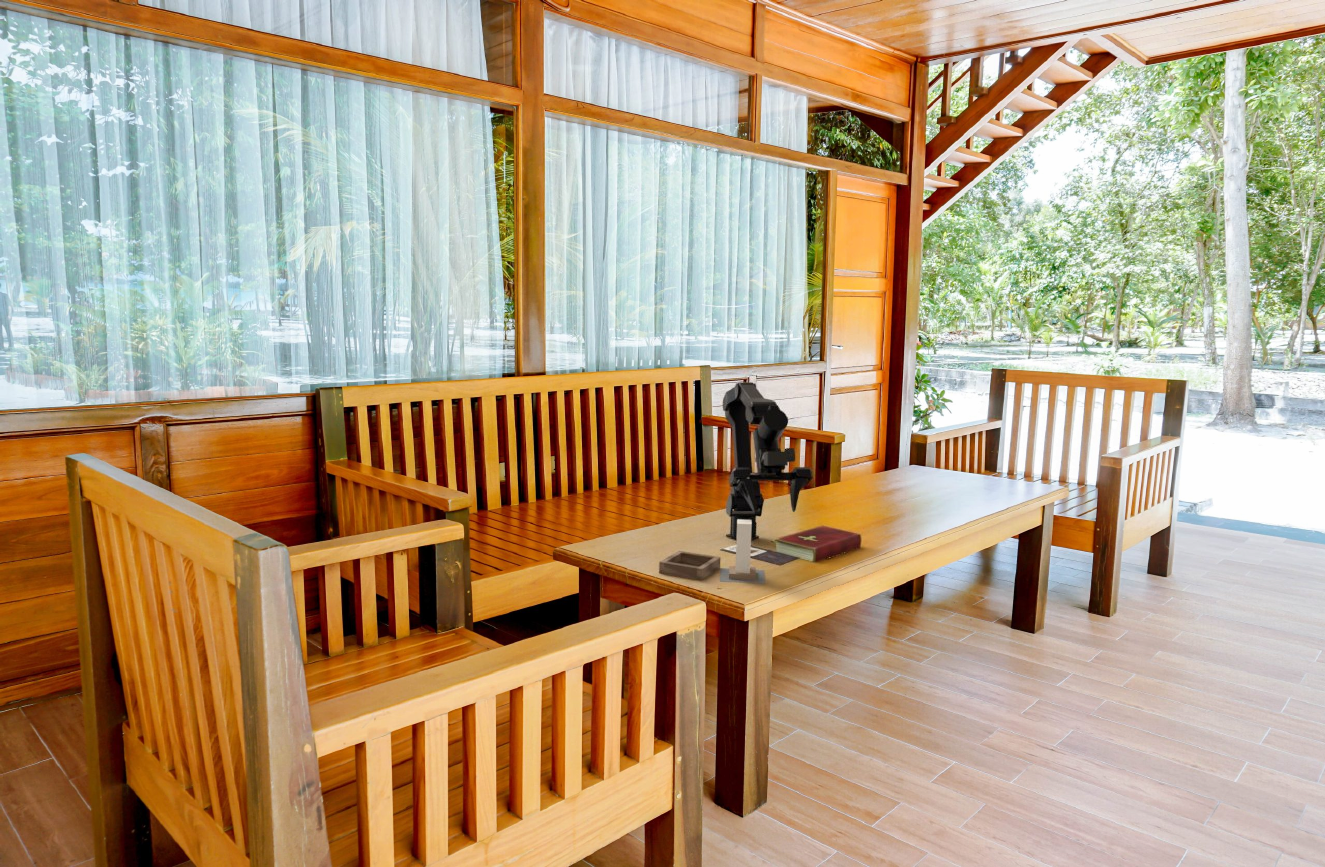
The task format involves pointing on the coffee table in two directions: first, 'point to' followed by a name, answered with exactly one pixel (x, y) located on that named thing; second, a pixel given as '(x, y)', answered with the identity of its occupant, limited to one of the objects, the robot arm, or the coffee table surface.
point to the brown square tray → (677, 569)
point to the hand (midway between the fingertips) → (774, 511)
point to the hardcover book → (818, 543)
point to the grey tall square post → (743, 553)
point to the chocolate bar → (765, 555)
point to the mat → (759, 579)
